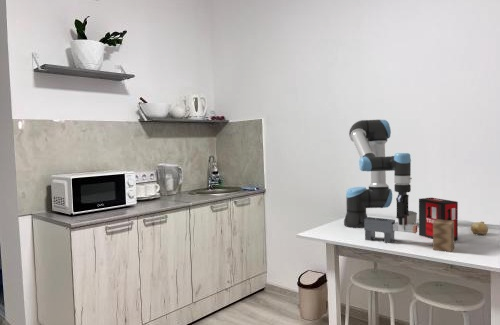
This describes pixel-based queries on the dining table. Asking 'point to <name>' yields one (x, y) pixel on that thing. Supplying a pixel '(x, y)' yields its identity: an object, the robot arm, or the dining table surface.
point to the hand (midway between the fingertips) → (402, 229)
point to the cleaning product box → (436, 215)
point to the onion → (479, 228)
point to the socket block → (443, 235)
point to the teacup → (411, 217)
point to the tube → (405, 226)
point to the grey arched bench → (379, 228)
